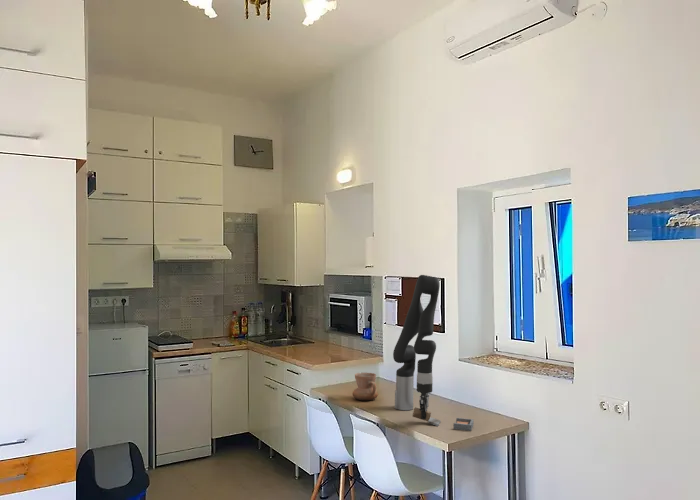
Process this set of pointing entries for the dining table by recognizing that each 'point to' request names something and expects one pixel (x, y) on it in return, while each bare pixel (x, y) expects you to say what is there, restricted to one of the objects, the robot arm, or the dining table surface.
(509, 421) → the dining table surface
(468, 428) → the bay
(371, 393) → the ceramic jug
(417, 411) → the brown and grey scraper
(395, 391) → the robot arm
